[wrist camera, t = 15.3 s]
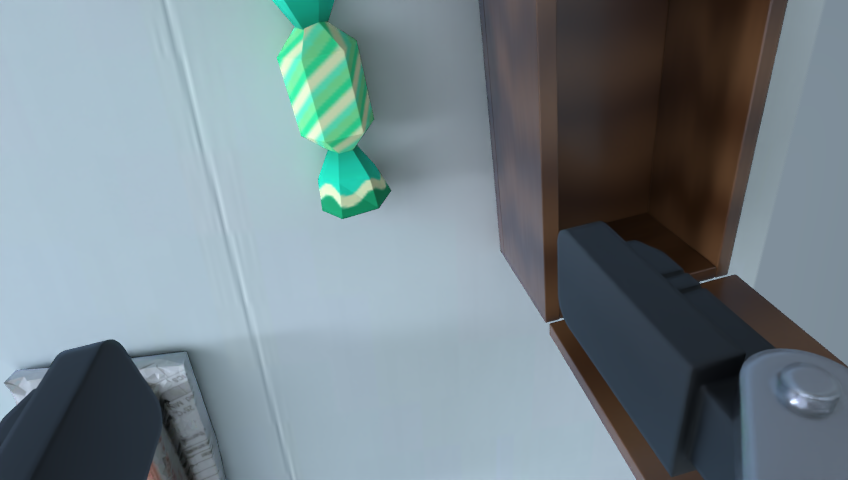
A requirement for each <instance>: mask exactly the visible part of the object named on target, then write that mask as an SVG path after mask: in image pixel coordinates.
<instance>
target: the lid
mask: <svg viewBox="0 0 848 480" xmlns="http://www.w3.org/2000/svg"><path fill="white" fill-rule="evenodd" d="M701 287H702V288H706V289H707V290H708V291H710V292H711V293H712V294H713V295H714V296H715V297H717V298H718V299H719V300H720V301H721V302H722V303H724V304H725V305H726V306H727V307H728V308H729V309H731V310H732V311H733V312H734V313H735V314H737V315H738V316H739V317H740V318H741V319H742V320H744V321H745V322H746V323H747V324H748V325H749V326H751V327H752V328H753V329H754V330H755V331H756V332H758V333H759V334H760V335H761V336H762V337H763V338H765V339H766V340H767V341H768V342H769V343H770V344H772V345H773V346H774V347H775V348H783V349H796V350H802V351H807V352H811V353H814V354H818V355H821V356H824V357H826V358H828V359H831V360H833V361H835V362H837V363H839V364H841V365H843V366H845V367H847V368H848V366H846V365H845V364H844V363H843V362H842V361H840V360H839V359H838V358H837V357H836V356H834V355H833V354H832V353H831V352H829V351H828V350H827V349H825V347H823V346H822V345H821V344H819V342H817V341H816V340H815V339H814V338H812V337H811V336H810V335H809V334H807V333H806V332H805V331H804V330H802V329H801V328H800V327H799V326H798V325H797V324H795V323H794V322H793V321H791V320H790V319H789V318H788V317H787V316H785V315H784V314H783V313H782V312H781V311H780V310H778V309H777V308H776V307H774V306H773V305H772V304H771V303H770V302H769V301H767V300H766V299H765V298H764V297H762V296H761V295H760V294H759V293H758V292H756V291H755V290H754V289H753V288H751V287H750V286H749V285H748V284H747V283H745V282H744V281H743V280H742V279H741V278H739V277H738V276H737V275H731V276H727V277H724V278H720V279H716V280H712V281H709V282H705V283H701ZM550 335H551V337H552V339H553V340H554V342H555V344H556V345H557V347H558V349H559V350H560V352H561V354H562V356H563V357H564V359H565V361H566V362H567V364H568V366H569V367H570V369H571V371H572V372H573V374H574V376H575V377H576V379H577V381H578V382H579V384H580V386H581V387H582V389H583V391H584V392H585V394H586V396H587V397H588V399H589V401H590V402H591V404H592V406H593V407H594V409H595V411H596V413H597V414H598V416H599V418H600V419H601V421H602V423H603V424H604V426H605V428H606V429H607V431H608V433H609V434H610V436H611V438H612V439H613V441H614V443H615V444H616V446H617V448H618V449H619V451H620V453H621V454H622V456H623V458H624V459H625V461H626V463H627V464H628V466H629V468H630V469H631V471H632V473H633V475H634V476H635V478H636V480H704V479H703V478H702V476H701V475H700V474H699V472H698V471H697V470H694V471H691V472H688V473H684V474H681V475H678V476H674V477H671V476H670V475H669V473H668V472H667V470H666V469H665V467H664V466H663V465H662V463H661V462H660V460H659V459H658V457H657V456H656V454H655V453H654V451H653V450H652V449H651V447H650V446H649V444H648V443H647V441H646V440H645V438H644V437H643V435H642V434H641V432H640V431H639V430H638V428H637V427H636V425H635V424H634V422H633V421H632V419H631V418H630V416H629V415H628V414H627V412H626V411H625V409H624V408H623V406H622V405H621V403H620V402H619V400H618V399H617V397H616V396H615V395H614V393H613V392H612V390H611V389H610V387H609V386H608V384H607V383H606V381H605V380H604V379H603V377H602V376H601V374H600V373H599V371H598V370H597V368H596V367H595V365H594V364H593V362H592V361H591V360H590V358H589V357H588V355H587V354H586V352H585V351H584V349H583V348H582V346H581V345H580V344H579V342H578V341H577V339H576V338H575V336H574V335H573V333H572V332H571V330H570V329H569V327H568V326H567V324H566V322H565V320H561V321H558V322H554V323H550Z"/></svg>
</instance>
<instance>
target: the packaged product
mask: <svg viewBox="0 0 848 480" xmlns="http://www.w3.org/2000/svg"><path fill="white" fill-rule="evenodd" d="M131 359H132V361H133V362H134V364H135V365H136V367H137V368H138V370H139V371H140V373H141V374H142V376H143V377H144V379H145V380H146V382H147V383H148V385H149V386H150V388H151V389H152V391H153V392H154V394H155V395H156V397H157V399H158V401H159V404H160V407H161V412H162V431H161V435H160V438H159V441H158V445H157V448H156V451H155V454H154V458H153V461H152V464H151V467H150V471H149V474H148V477H147V480H226V479H225V474H224V470H223V465H222V460H221V456H220V452H219V447H218V443H217V439H216V436H215V433H214V430H213V427H212V425H211V422H210V419H209V416H208V413H207V410H206V407H205V404H204V401H203V399H202V396H201V393H200V390H199V387H198V384H197V381H196V378H195V375H194V372H193V369H192V366H191V364H190V361H189V358H188V355H187V352H186V351H185V352H177V353H169V354H161V355H153V356H145V357H137V358H131ZM48 369H49V368H39V369H26V370H16V371H15V372H14V373H13V374H12V375H11V376H10V377H9V378H8V379H7V380H6V381H5V382H4V384H5V385H6V387H7V388H8V389H9V390H10V392H11V393H12V395H13V397H14V398H15V400H16V405H17V404H18V403H19V402H20V401H21V400H23V399H24V398H25V397H26V396H27V395H28V394H29V393H30V392H31V391H32V390H33V389H36V388H37V387H38V385H39V383H40V382H41V380H42V378H43V377H44V375H45V374H46V372H47V370H48Z"/></svg>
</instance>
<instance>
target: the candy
mask: <svg viewBox="0 0 848 480" xmlns="http://www.w3.org/2000/svg"><path fill="white" fill-rule="evenodd" d="M272 1H273V2H274V3H275V4H276V5H277V6H278V8H279V9H280V10H281V11H282V12H283V13H284V14H285V16H286V17H287V18H288V19H289V20H290V21H291V23H292V24H293V25H294V26H295V28H294V29H293V31H292V33H291V34H290V36H289V38H288V39H287V41H286V43H285V45H284V46H283V48H282V50H281V51H280V53H279V55H278V56H277V60H278V63H279V66H280V69H281V72H282V76H283V79H284V82H285V85H286V89H287V92H288V95H289V98H290V101H291V105H292V108H293V111H294V114H295V117H296V121H297V124H298V127H299V130H300V133H301V136H302V137H304V138H306V139H308V140H310V141H312V142H314V143H316V144H318V145H320V146H322V147H323V148H325V149H327V150H328V152H327V155H326V158H325V160H324V163H323V166H322V169H321V172H320V175H319V178H318V184H319V190H320V197H321V204H322V210H323V211H325V212H327V213H330V214H332V215H334V216H337V217H339V218H341V219H344V218H348V217H351V216H355V215H358V214H361V213H365V212H368V211H371V210H375V209H378V208H379V207H380V206H381V204H382V203H383V202H384V200H385V199H386V197H387V196H388V194H389V193H390V192H391V189H390V188H389V186H388V185H387V183H386V181H385V180H384V178H383V177H382V175H381V174H380V172H379V170H378V169H377V167H376V166H375V164H374V163H373V162H372V161H371V160H370V159H369V158H368V157H367V156H366V155H365V154H364V152H363V151H362V150H361V149H360V148H359V147H358V146H357V143H358V142H359V141H360V139H361V138H362V136H363V135H364V133H365V132H366V130H367V129H368V128H369V126H370V125H371V123H372V122H373V120H374V117H373V112H372V108H371V103H370V99H369V94H368V90H367V85H366V81H365V76H364V72H363V67H362V63H361V58H360V54H359V49H358V45H357V41H356V40H355V39H353V38H352V37H350V36H349V35H347V34H345V33H344V32H342V31H341V30H339V29H338V28H336V27H335V26H333V25H332V24H330V23H328V20H329V17H330V13H331V10H332V7H333V4H334V0H272Z"/></svg>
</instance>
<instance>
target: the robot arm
mask: <svg viewBox="0 0 848 480" xmlns="http://www.w3.org/2000/svg"><path fill="white" fill-rule="evenodd" d="M557 257H558V300H559V305H560V309H561V312H562V315H563V318H564V320H565V322H566V324H567V326H568V327H569V329H570V330H571V332H572V333H573V335H574V336H575V338H576V339H577V341H578V342H579V344H580V345H581V346H582V348H583V349H584V351H585V352H586V354H587V355H588V357H589V358H590V360H591V361H592V362H593V364H594V365H595V367H596V368H597V370H598V371H599V373H600V374H601V376H602V377H603V379H604V380H605V381H606V383H607V384H608V386H609V387H610V389H611V390H612V392H613V393H614V395H615V396H616V397H617V399H618V400H619V402H620V403H621V405H622V406H623V408H624V409H625V411H626V412H627V414H628V415H629V416H630V418H631V419H632V421H633V422H634V424H635V425H636V427H637V428H638V430H639V431H640V432H641V434H642V435H643V437H644V438H645V440H646V441H647V443H648V444H649V446H650V447H651V449H652V450H653V451H654V453H655V454H656V456H657V457H658V459H659V460H660V462H661V463H662V465H663V466H664V467H665V469H666V470H667V472H668V473H669V475H670V476H671V477H674V476H678V475H681V474H684V473H688V472H691V471H694V470H697V471H698V472H699V474H700V475H701V476H702V478H703V479H704V480H848V368H847V367H845V366H843V365H841V364H839V363H837V362H835V361H833V360H831V359H828V358H826V357H824V356H821V355H818V354H814V353H811V352H807V351H802V350H796V349H783V348H775V347H774V346H773V345H772V344H770V343H769V342H768V341H767V340H766V339H765V338H763V337H762V336H761V335H760V334H759V333H758V332H756V331H755V330H754V329H753V328H752V327H751V326H749V325H748V324H747V323H746V322H745V321H744V320H742V319H741V318H740V317H739V316H738V315H737V314H735V313H734V312H733V311H732V310H731V309H729V308H728V307H727V306H726V305H725V304H724V303H722V302H721V301H720V300H719V299H718V298H717V297H715V296H714V295H713V294H712V293H711V292H710V291H708V290H707V289H706V288H702V287H701V284H700V283H699V282H698V281H697V280H696V279H694V278H693V277H692V276H691V275H690V274H689V273H684V270H683V268H681V267H680V266H679V265H678V264H677V263H676V262H674V261H673V260H672V259H671V258H670V257H669V256H667V255H666V254H665V253H664V252H662V251H660V250H658V249H656V248H653V247H651V246H649V245H646V244H644V243H642V242H639V241H637V240H632V241H628V242H626V241H624V240H623V239H622V238H621V237H620V236H619V235H618V234H617V233H616V232H615V231H614V230H613V229H611V228H610V227H609V226H608V225H607V224H606V223H605V222H603V221H596V222H592V223H588V224H584V225H580V226H576V227H572V228H568V229H564V230H561V231H560V232H559V234H558V239H557ZM161 431H162V412H161V407H160V404H159V401H158V399H157V397H156V395H155V394H154V392H153V391H152V389H151V388H150V386H149V385H148V383H147V382H146V380H145V379H144V377H143V376H142V374H141V373H140V371H139V370H138V368H137V367H136V365H135V364H134V362H133V361H132V359H131V358H130V356H129V355H128V353H127V352H126V350H125V349H124V347H123V346H122V345H121V344H120V343H119V342H117V341H115V340H106V341H102V342H98V343H94V344H90V345H86V346H82V347H77V348H73V349H69V350H65V351H63V352H61V353H59V354H58V355H57V356H56V358H55V359H54V361H53V362H52V364H51V366H50V367H49V369H48V370H47V372H46V374H45V375H44V377H43V378H42V380H41V382H40V383H39V385H38V387H37V388H36V389H33V390H32V391H31V392H30V393H29V394H28V395H27V396H26V397H25V398H24V399H23V400H21V401H20V402H19V403H18V404H17V405H16V406H15V407H14V408H13V409H12V410H11V411H10V412H9V413H8V414H7V415H6V416H5V417H4V418H3V419H2V421H1V422H0V480H147V477H148V474H149V471H150V467H151V464H152V461H153V458H154V454H155V451H156V448H157V445H158V441H159V438H160V435H161Z"/></svg>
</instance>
